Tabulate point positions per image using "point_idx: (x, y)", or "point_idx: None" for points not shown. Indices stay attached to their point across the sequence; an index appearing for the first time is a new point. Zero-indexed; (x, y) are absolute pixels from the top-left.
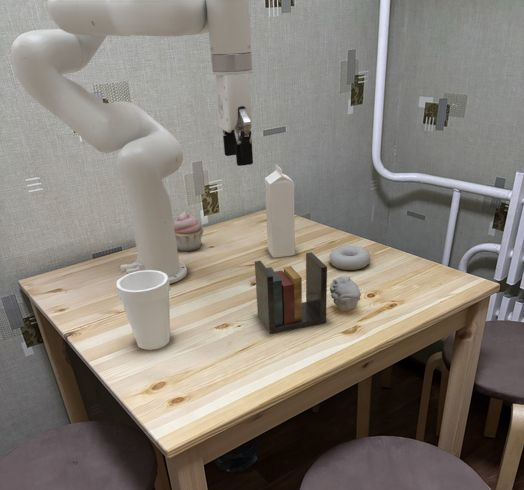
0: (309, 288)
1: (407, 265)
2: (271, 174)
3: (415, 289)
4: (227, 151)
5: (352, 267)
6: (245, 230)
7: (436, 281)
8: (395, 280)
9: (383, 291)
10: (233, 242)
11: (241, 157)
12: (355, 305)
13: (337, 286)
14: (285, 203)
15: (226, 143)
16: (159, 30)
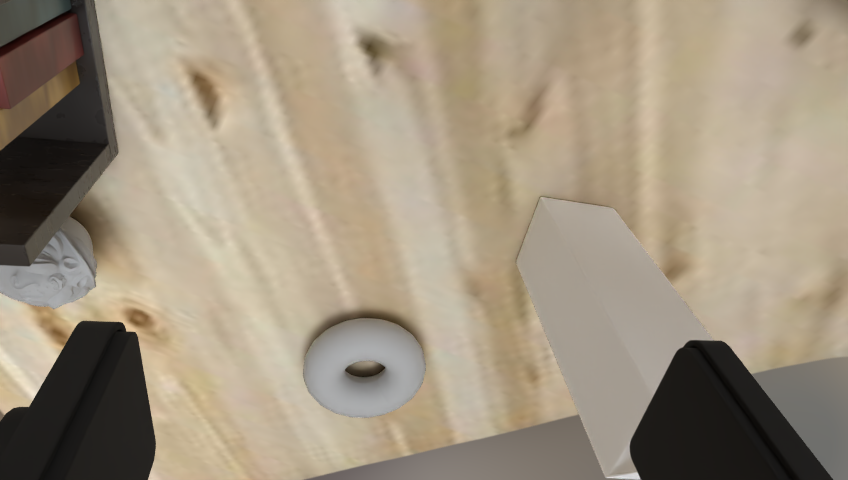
0: (43, 170)
1: (286, 448)
2: None
3: None
4: (695, 390)
5: (308, 350)
6: (824, 207)
7: (169, 457)
8: (210, 397)
9: (154, 352)
10: (768, 129)
11: (3, 438)
12: None
13: None
14: (586, 373)
15: (757, 473)
16: None
